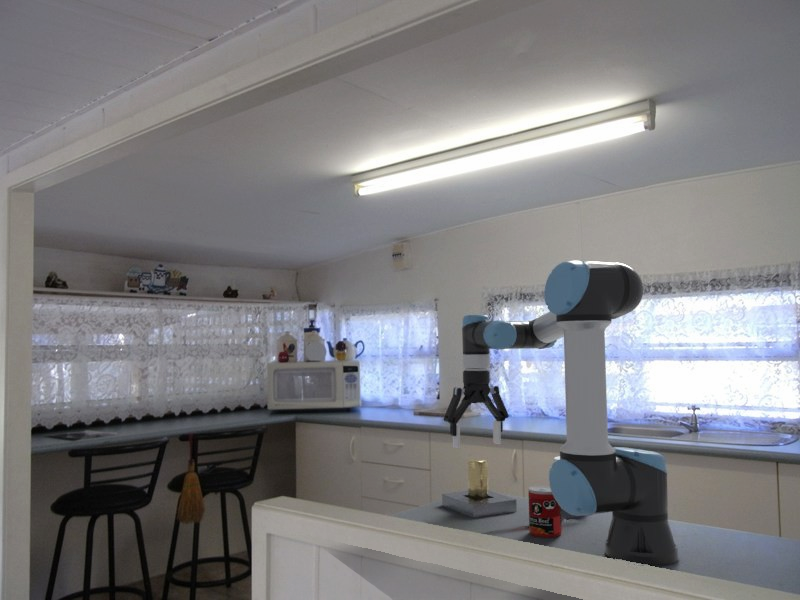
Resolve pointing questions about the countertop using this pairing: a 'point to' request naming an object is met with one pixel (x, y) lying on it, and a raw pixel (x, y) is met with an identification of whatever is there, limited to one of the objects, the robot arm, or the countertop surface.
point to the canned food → (544, 512)
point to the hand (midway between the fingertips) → (477, 445)
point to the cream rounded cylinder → (478, 479)
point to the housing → (479, 504)
